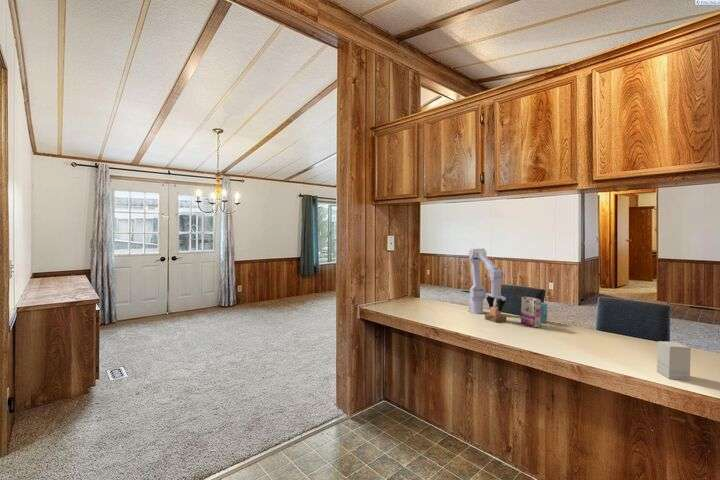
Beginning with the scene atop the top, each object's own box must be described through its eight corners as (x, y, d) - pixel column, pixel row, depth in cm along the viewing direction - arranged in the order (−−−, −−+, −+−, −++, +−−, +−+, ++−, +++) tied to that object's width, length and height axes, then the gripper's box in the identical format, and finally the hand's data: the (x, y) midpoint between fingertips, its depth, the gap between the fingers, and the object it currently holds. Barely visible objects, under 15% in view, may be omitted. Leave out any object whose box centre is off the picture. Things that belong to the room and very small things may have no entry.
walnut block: (484, 319, 224) (484, 314, 224) (495, 318, 228) (495, 313, 228) (495, 323, 216) (495, 317, 216) (506, 321, 220) (506, 316, 220)
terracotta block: (490, 314, 223) (490, 306, 223) (495, 314, 225) (496, 306, 224) (495, 316, 219) (495, 308, 219) (501, 315, 220) (501, 307, 220)
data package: (547, 322, 217) (547, 303, 216) (543, 323, 214) (543, 304, 214) (528, 318, 226) (528, 300, 226) (524, 319, 224) (524, 300, 223)
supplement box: (690, 380, 133) (691, 347, 133) (668, 379, 135) (669, 346, 134) (676, 372, 141) (677, 341, 140) (655, 371, 142) (656, 340, 142)
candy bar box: (541, 327, 206) (541, 299, 205) (534, 328, 204) (534, 300, 204) (527, 322, 216) (527, 296, 216) (520, 323, 215) (520, 296, 215)
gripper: (482, 286, 226) (482, 307, 227) (499, 290, 213) (499, 312, 213) (491, 286, 229) (491, 306, 229) (508, 289, 216) (508, 311, 216)
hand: (495, 309), depth 222 cm, fingers open, 7 cm apart
